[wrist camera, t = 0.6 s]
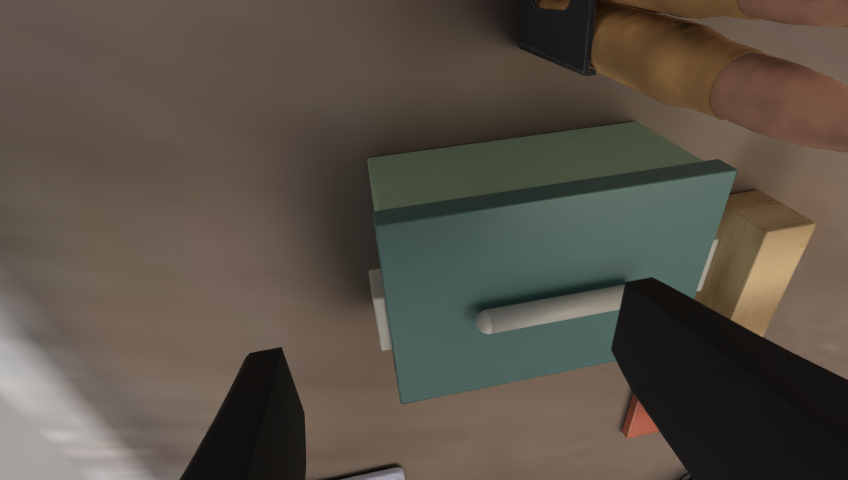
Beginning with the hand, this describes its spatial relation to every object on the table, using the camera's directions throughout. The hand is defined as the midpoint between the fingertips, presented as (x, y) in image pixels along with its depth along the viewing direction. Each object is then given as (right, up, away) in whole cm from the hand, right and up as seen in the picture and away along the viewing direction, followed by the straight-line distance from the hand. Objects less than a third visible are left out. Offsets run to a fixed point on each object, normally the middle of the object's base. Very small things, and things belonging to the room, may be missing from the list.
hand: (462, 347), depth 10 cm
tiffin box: (+3, +3, +11) cm, 11 cm away
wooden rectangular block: (+15, -3, +17) cm, 23 cm away
